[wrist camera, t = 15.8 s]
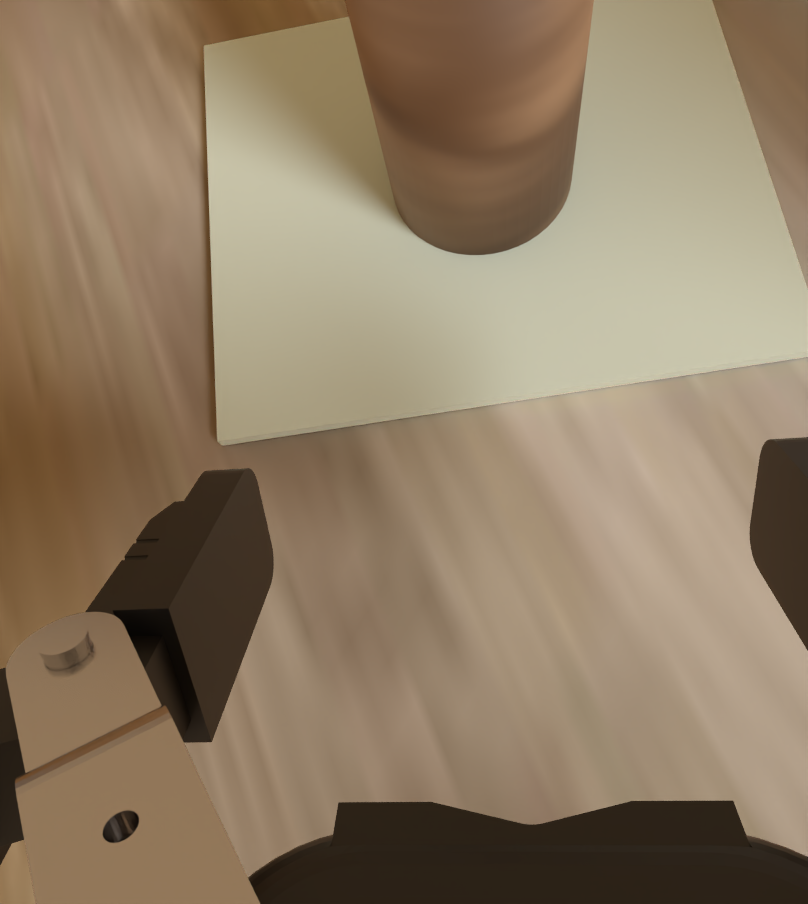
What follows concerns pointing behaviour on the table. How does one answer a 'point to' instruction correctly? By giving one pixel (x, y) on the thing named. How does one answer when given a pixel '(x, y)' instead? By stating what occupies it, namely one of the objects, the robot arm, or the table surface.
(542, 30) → the walnut cylinder
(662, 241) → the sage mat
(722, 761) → the table surface
